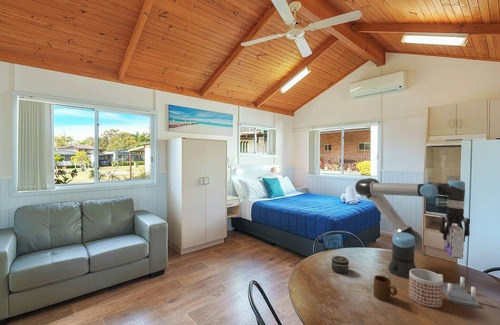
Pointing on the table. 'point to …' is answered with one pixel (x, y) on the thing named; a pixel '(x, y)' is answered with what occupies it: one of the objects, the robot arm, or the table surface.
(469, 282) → the table surface
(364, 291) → the table surface
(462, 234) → the candy box
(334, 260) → the jar
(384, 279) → the mug
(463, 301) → the tray
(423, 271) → the planter
